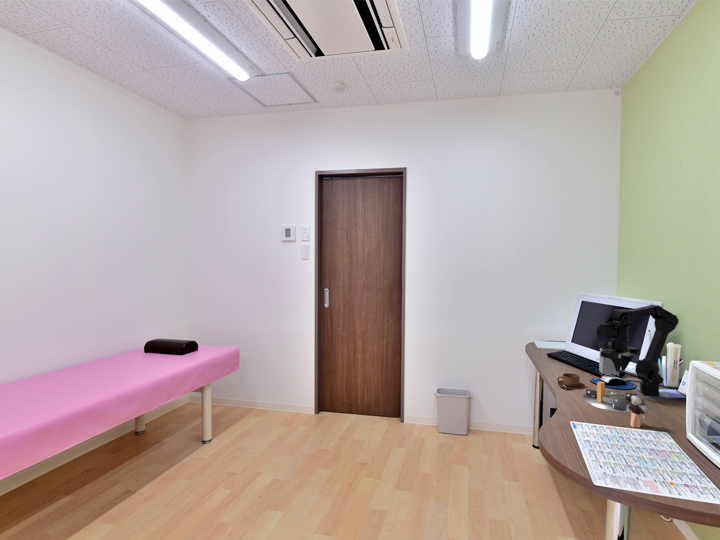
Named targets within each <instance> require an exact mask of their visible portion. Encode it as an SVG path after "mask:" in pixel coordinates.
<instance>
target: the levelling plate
mask: <svg viewBox="0 0 720 540" xmlns="http://www.w3.org/2000/svg"><path fill="white" fill-rule="evenodd" d="M632 396H638V394H637V393H634V392H632V391H631V392H629V391H628V392H625V394H624V393H622V392H620V391H614V390H605V397H608V398H611V399H613V397H622V398H625V399H627V410H628V407H629V406H630V405H631V404H632V399H631V397H632ZM582 400H583V401H584V402H586V403H588V404H590V405H591V406H594V407H597V408H600V409H604V410H607V411H615V412H622V413H629V412H628V411H627V410H617V409H614V408H613V404H610V403H608V402H598V401H597V389H592V388H587V389H585V393H584V394H583V395H582ZM638 406H639V407H640V408H641V409H642V410H643V411H646V410H647V409H648V405H647V404H646V403H645V402H644V401H642V403H640V404H639V405H638Z"/></svg>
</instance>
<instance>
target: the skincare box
mask: <svg viewBox="0 0 720 540" xmlns="http://www.w3.org/2000/svg"><path fill="white" fill-rule="evenodd" d="M605 350H607V349H605ZM608 350H610V349H608ZM601 351H603V350H602V348H600V347H599V362H598V363H599V365H598V367H599V369H598V372H599V371H600V372H601V373H602V374H613V375H617V376H619V377H620V371H619V372H617V371H616V369H615V366H614V364H613V362H612V360H611V359H609V358H605V357H601ZM611 351H613V350H611ZM600 372H599V373H600ZM601 373H600V374H601ZM602 374H601V375H602Z"/></svg>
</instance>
